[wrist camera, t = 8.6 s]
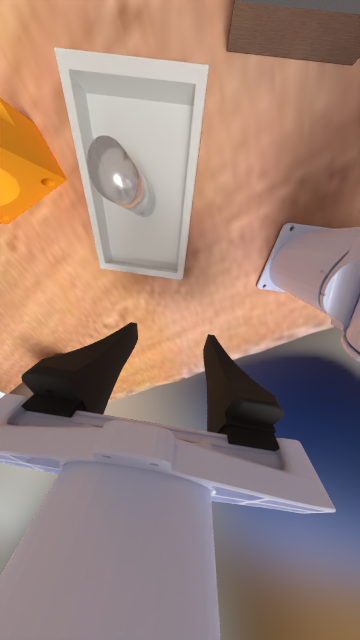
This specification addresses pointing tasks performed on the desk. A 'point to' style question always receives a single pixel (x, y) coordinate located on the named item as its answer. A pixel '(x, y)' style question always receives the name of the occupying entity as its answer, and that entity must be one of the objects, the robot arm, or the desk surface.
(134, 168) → the pin
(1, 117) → the pipe clamp
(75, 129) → the tray
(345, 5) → the socket block
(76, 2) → the desk surface
